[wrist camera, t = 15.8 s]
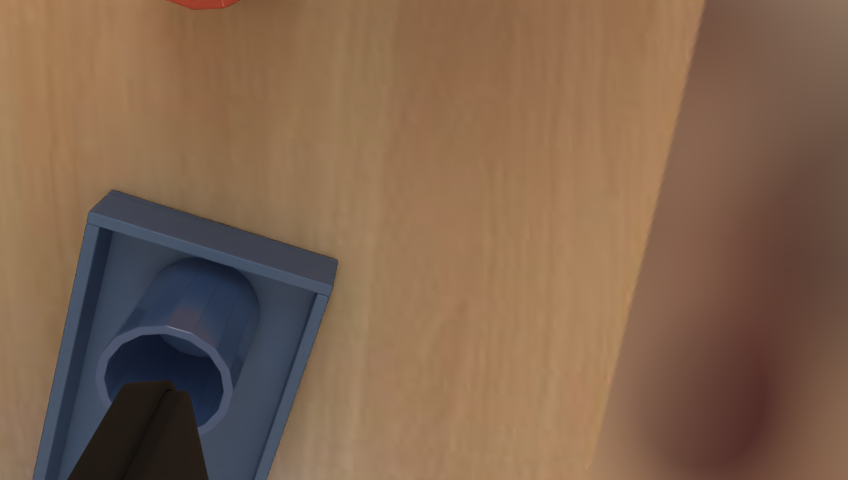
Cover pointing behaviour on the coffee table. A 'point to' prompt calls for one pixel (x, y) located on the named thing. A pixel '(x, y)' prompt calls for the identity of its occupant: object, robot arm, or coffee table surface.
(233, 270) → the blue cup
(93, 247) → the blue tray
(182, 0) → the red cup
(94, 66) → the coffee table surface
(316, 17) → the coffee table surface
